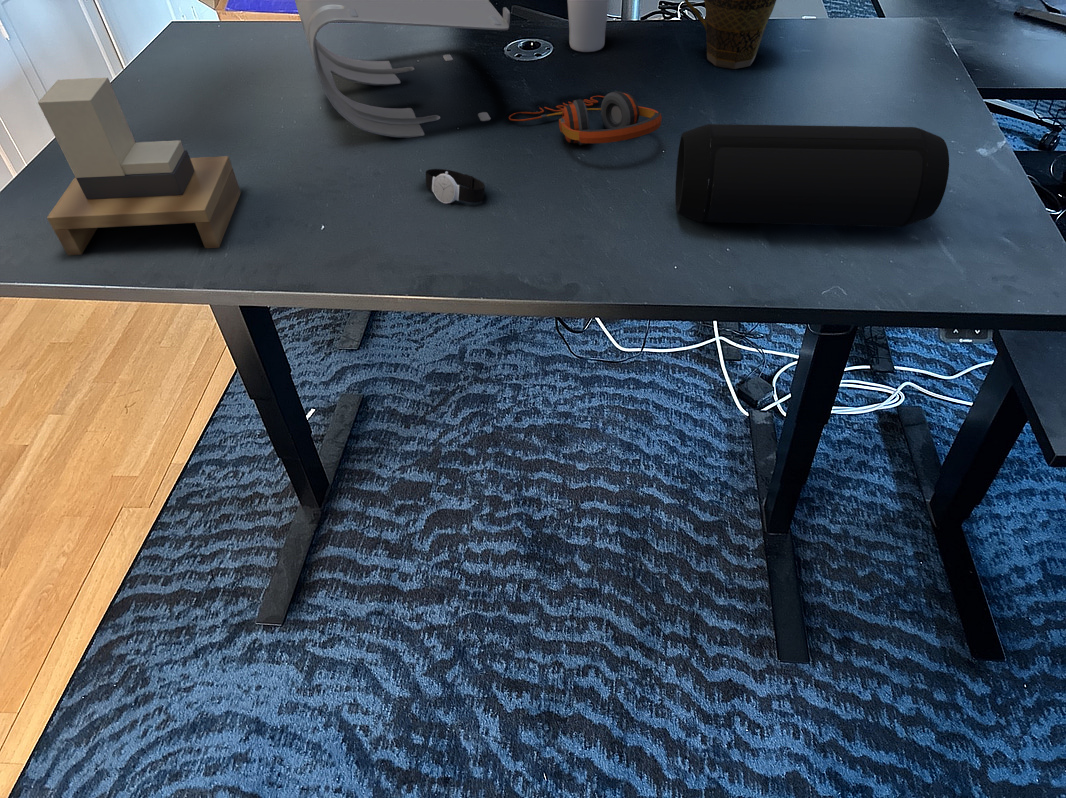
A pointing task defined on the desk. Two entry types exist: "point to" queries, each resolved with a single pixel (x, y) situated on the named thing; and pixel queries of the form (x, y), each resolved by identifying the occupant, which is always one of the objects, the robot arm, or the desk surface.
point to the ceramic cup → (734, 30)
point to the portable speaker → (810, 174)
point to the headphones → (616, 116)
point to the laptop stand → (396, 4)
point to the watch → (454, 186)
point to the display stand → (152, 207)
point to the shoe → (110, 144)
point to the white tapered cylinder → (587, 24)
